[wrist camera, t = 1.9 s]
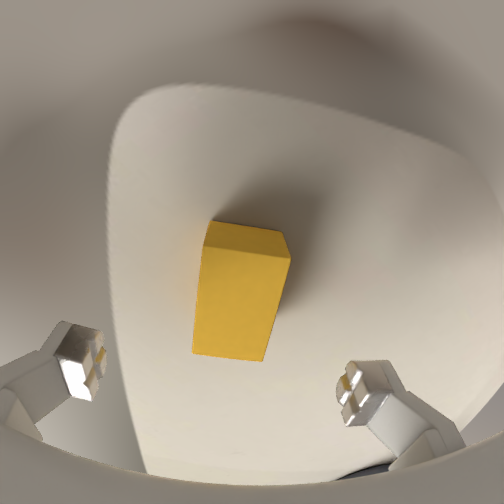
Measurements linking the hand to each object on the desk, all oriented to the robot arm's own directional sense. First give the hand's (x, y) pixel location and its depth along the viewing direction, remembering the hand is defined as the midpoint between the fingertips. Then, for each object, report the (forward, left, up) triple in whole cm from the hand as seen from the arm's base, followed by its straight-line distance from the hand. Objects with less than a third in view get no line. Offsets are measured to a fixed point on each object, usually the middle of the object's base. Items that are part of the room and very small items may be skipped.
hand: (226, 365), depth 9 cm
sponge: (0, 0, -5) cm, 5 cm away
